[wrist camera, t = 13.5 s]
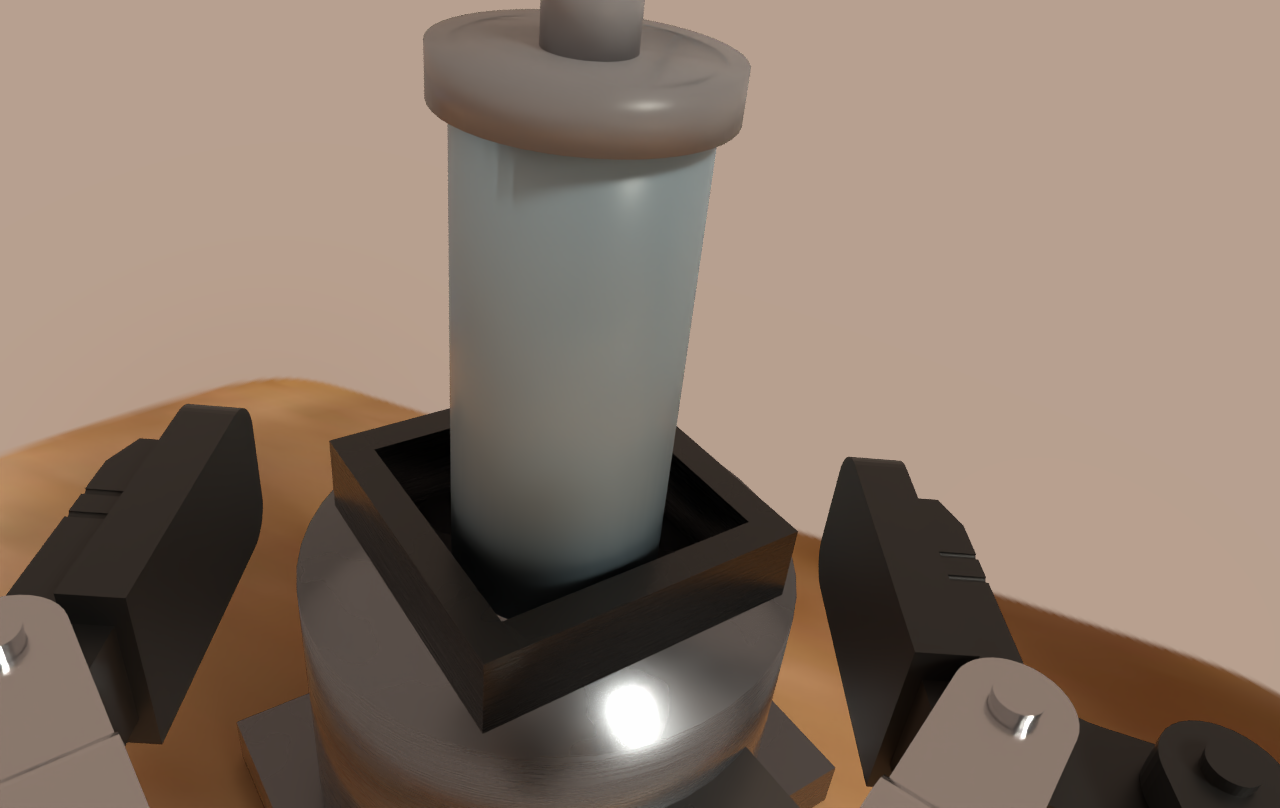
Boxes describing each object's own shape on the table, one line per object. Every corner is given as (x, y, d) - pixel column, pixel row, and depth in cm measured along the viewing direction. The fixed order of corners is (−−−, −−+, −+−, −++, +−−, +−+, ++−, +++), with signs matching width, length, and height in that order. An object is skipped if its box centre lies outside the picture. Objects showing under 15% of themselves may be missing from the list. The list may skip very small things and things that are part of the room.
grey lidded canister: (591, 456, 28) (639, -78, 20) (720, 585, 24) (837, -16, 16) (395, 520, 25) (365, -81, 17) (506, 678, 21) (531, -6, 13)
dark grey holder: (620, 574, 37) (652, 314, 31) (898, 880, 28) (1021, 595, 22) (232, 731, 29) (175, 430, 23) (435, 1219, 20) (425, 929, 14)
